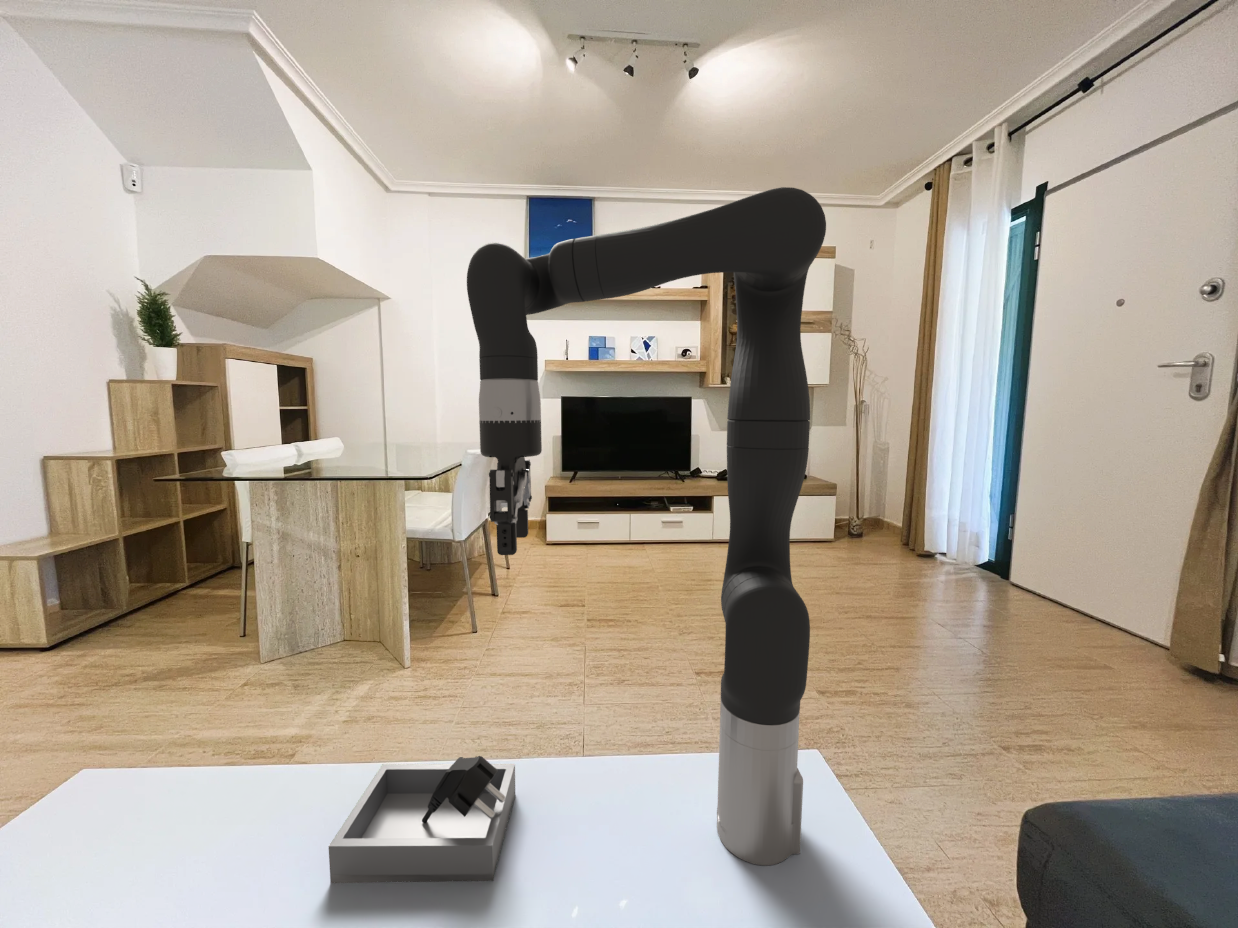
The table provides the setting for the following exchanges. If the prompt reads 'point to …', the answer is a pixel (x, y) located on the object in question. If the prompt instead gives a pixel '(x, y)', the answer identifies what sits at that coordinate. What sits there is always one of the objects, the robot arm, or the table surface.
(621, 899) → the table surface
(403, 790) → the box
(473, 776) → the power plug
